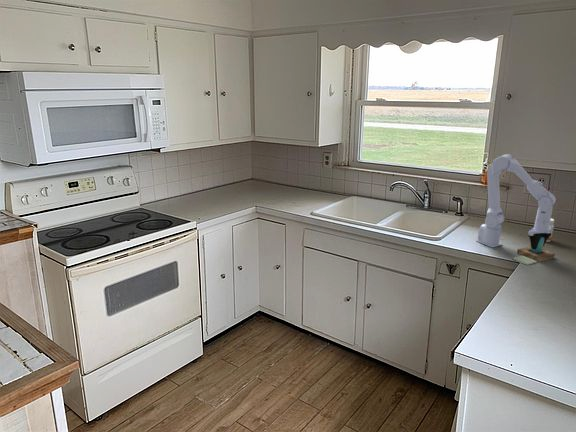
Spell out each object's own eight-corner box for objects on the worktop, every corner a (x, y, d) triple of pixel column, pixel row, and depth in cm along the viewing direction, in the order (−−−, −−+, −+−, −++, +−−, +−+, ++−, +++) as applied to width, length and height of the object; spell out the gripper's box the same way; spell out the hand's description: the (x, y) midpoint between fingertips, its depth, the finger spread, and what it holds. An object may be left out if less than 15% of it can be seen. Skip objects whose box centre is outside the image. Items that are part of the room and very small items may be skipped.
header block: (516, 253, 207) (517, 249, 206) (531, 249, 212) (532, 245, 211) (538, 261, 198) (539, 257, 197) (554, 257, 202) (554, 253, 202)
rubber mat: (512, 259, 200) (512, 258, 199) (522, 256, 203) (522, 255, 203) (526, 265, 194) (526, 264, 194) (536, 262, 197) (537, 261, 197)
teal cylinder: (528, 252, 205) (531, 236, 203) (534, 251, 207) (537, 235, 205) (537, 256, 201) (540, 239, 199) (543, 254, 203) (546, 238, 201)
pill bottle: (534, 237, 227) (538, 217, 223) (545, 237, 227) (550, 217, 224) (542, 242, 221) (546, 221, 217) (553, 242, 221) (558, 220, 218)
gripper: (541, 224, 193) (534, 253, 197) (561, 220, 199) (554, 248, 203) (526, 220, 198) (520, 247, 203) (546, 216, 205) (540, 243, 209)
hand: (536, 247), depth 203 cm, fingers closed on teal cylinder, 4 cm apart
